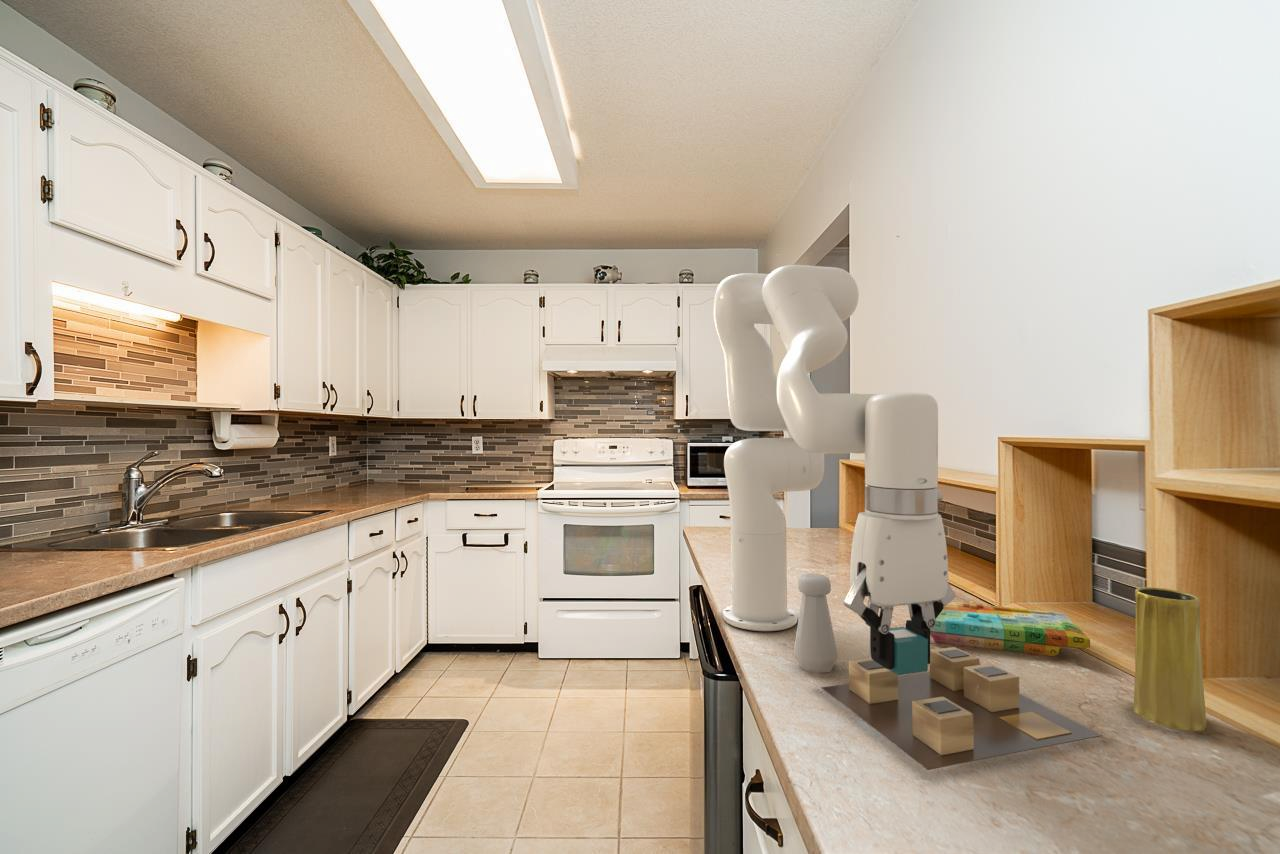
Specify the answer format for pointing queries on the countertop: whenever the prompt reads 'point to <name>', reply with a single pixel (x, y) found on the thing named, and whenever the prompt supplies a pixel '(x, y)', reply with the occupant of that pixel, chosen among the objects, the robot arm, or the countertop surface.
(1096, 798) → the countertop surface
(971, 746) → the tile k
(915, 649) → the tile
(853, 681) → the light wood cube
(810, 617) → the salt shaker
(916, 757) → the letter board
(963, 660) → the tile
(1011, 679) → the tile
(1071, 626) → the puzzle game
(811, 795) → the countertop surface
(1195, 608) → the vase
